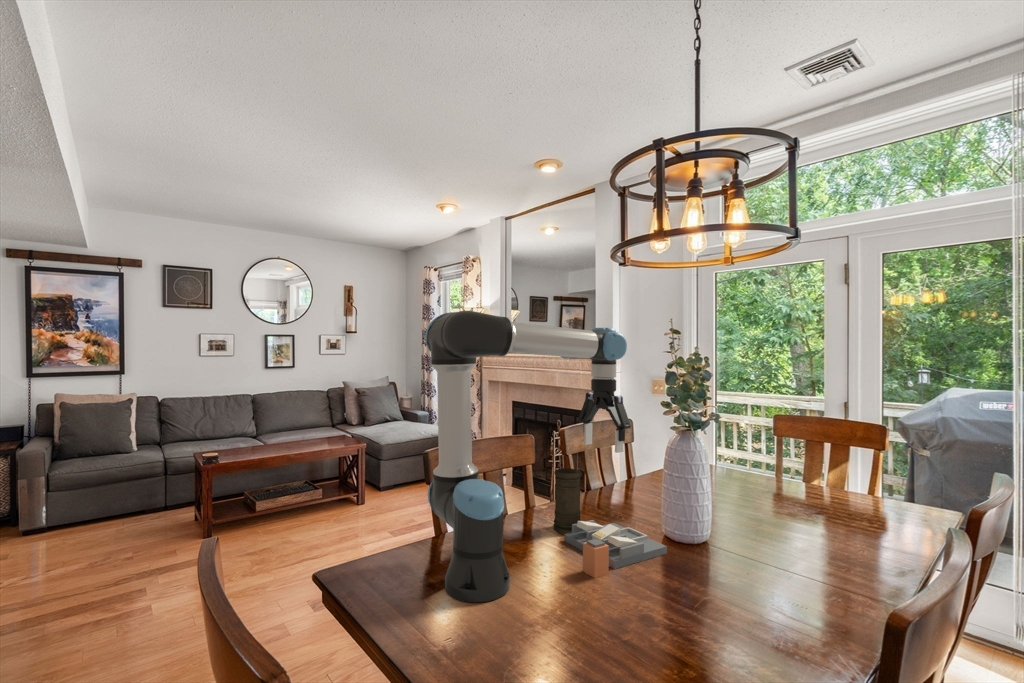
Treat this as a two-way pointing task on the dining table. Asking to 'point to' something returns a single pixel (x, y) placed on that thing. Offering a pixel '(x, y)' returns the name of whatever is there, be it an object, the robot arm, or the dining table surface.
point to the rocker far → (588, 526)
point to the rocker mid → (606, 532)
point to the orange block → (595, 558)
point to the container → (567, 499)
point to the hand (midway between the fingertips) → (603, 448)
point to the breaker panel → (620, 554)
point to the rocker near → (621, 541)
